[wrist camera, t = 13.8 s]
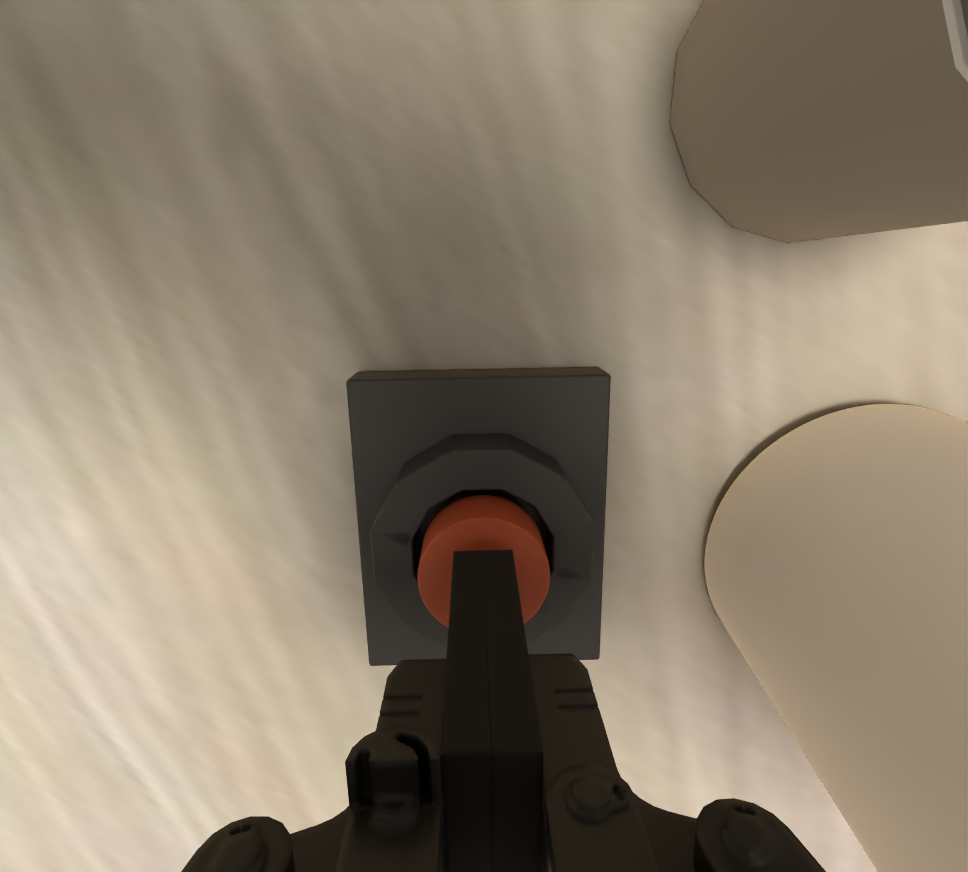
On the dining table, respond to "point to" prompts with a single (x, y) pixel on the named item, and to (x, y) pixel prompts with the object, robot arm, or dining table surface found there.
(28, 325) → the dining table surface
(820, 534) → the tall pillar cylinder
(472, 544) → the button
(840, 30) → the cup
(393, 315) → the dining table surface
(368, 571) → the button block
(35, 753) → the dining table surface
